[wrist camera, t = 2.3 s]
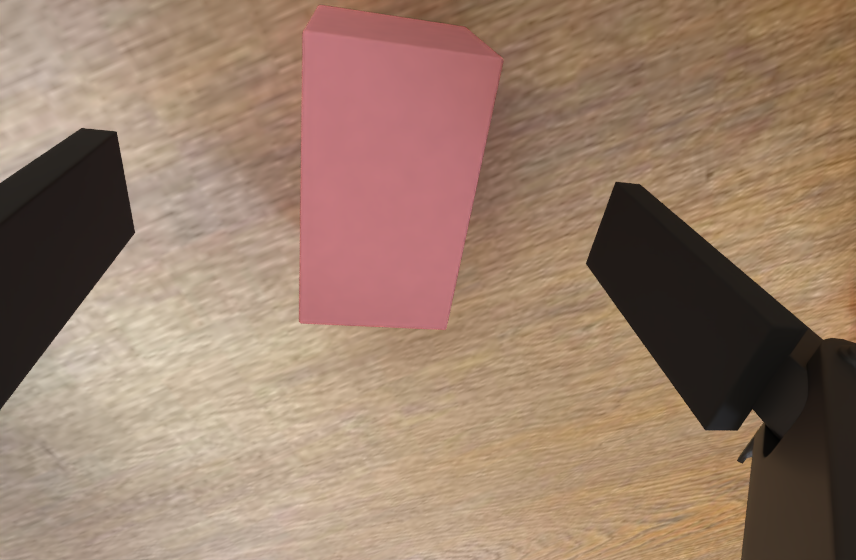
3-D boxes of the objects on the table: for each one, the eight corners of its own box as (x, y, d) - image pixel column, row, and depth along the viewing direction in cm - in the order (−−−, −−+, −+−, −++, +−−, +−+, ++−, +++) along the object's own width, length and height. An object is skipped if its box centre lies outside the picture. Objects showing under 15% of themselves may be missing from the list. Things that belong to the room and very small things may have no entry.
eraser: (317, 3, 15) (301, 29, 11) (466, 26, 16) (504, 58, 12) (311, 241, 19) (298, 324, 15) (428, 249, 20) (446, 330, 16)
